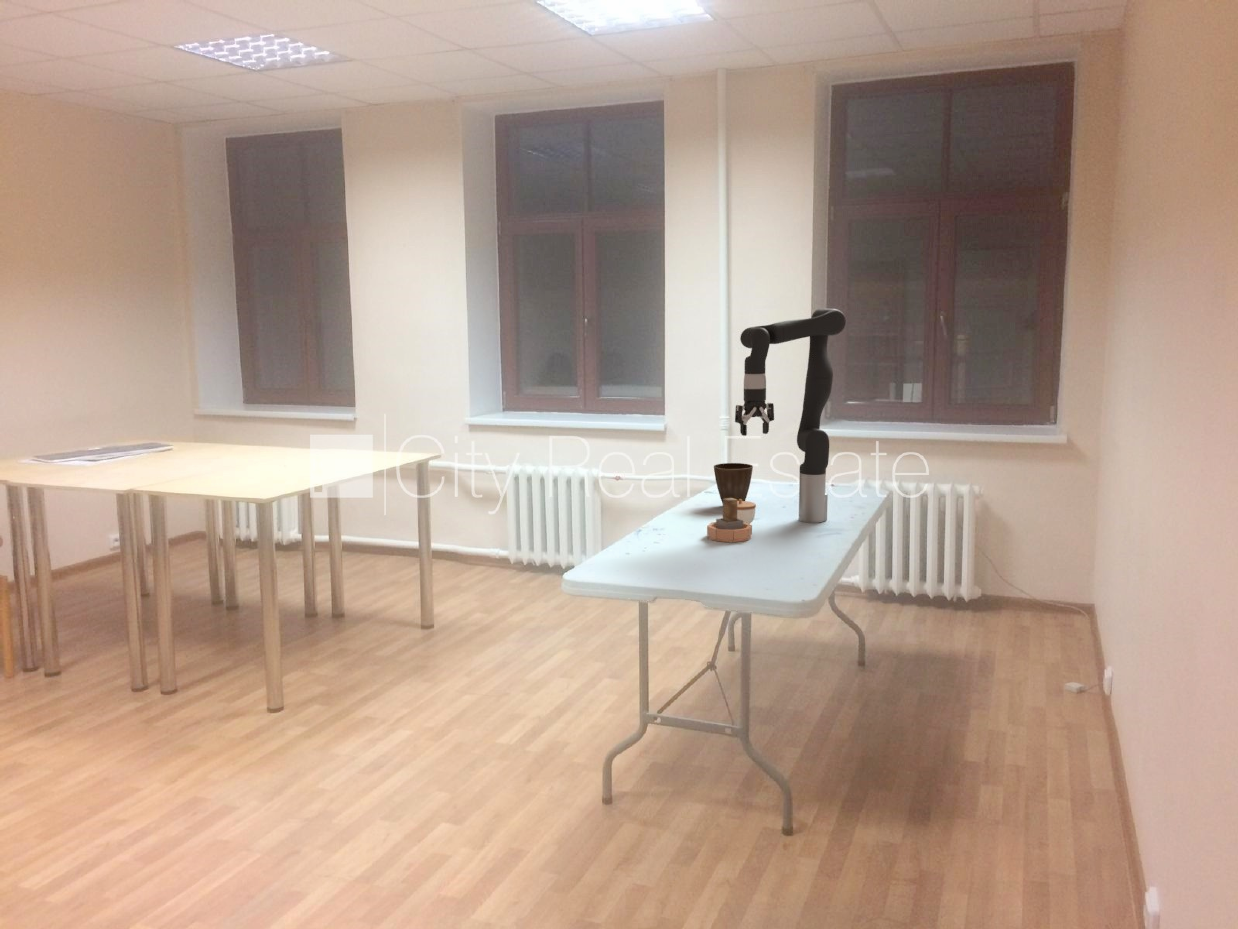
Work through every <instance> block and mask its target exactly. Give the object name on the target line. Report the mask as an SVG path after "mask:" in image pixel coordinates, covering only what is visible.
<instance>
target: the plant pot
mask: <svg viewBox="0 0 1238 929" xmlns="http://www.w3.org/2000/svg"><path fill="white" fill-rule="evenodd" d="M753 468H754V466H753V465H752V464H749V463H740V462H739V463H738V462H727V463H726V462H725V463H717V464H714V465H713V471H714V472H713V473H714V477H715V482H716V487H717V490H718V494H719V498H720V500H721V502H722V505H723V499H725V498H734V499H737V501H739V499H742V501H746V500H747V496H748V494H749V489H750V487H751V486H750V485H751V481H752V475H753Z"/></svg>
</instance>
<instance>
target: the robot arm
mask: <svg viewBox="0 0 1238 929" xmlns="http://www.w3.org/2000/svg"><path fill="white" fill-rule="evenodd" d="M845 316H846V315H845V314H844V313H843V312H842V311H841V310H839V309H837V308H818V309H816V310H815V311H814V312H813V313H812V315H811V317H809V318H802V319H791V320H783V321H779V322H774V323H772V324H767V325H757V326H751V327H748V328H745V329H744V330H743V331H742V332H741V334H740V337H739V340H740V344H742V346H743V347H744V348H748V349H751V350H750V355H749V356H747V357H745V359H744V374H743V376H744V377H743V402H744V404H743V405H740V404H736V405H735V410H734V412H735V413H734V414H735V415H734V422H735V423H736V424H739V427H740V428H739V429H740V430H739V432H740V434H741V436H742V437H745V436H747V435H748V431H747V428H748V426H747V423H748V421H750V419H751V418H755V417H758V418H760V419H761V421H762V434H764V435H767V434H769V432H770V422H772V421H774V420H775V410H774V409H775V408H774V406H775V405H774V403H772V402H767V403H766V400H767V377H766V361H767V356H768V354H769V353H768V352H769V349H770V345H777V344H783V343H786V342H792V341H796V340H800V339H804V338H809V351H808V358H807V359H808V360H807V361H808V362H807V370H806V377H805V382H804V383H805V384H804V394H803V395H804V396H803V403H802V411H801V417H800V421H799V426H798V430H797V435H796V444H797V447H798V448H799V450H800V451H802V452H804V460H803V462H802V463H801V464H800V465H799V485H798V486H799V487H798V491H799V492H798V521H800V522H803V523H822V522H825V521H827V520H828V499H829V498H828V494H827V493H826V488H827V487H826V482H827V481H826V480H827V479H826V478H827V477H826V475H827V474H826V473H827V468H828V465H829V461H830V460H829V457H830V438H829V435H828V433H827V432H826V431H824V430H822V429H821V428H820V427H821V418H822V414H823V413H822V412H823V411H824V409H825V406H826V404H827V402H828V401H829V398H830V395H831V392H832V386H833V380H834V370H833V366H832V362H831V361H830V358H829V354H828V343H829V342H828V340H829V336H837V335H839V334H840V333H841V332H843V330H844V329H845V327H846V324H847V322H846V321H847V319H846V317H845ZM765 410H766V412H765Z"/></svg>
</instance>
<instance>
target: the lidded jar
mask: <svg viewBox="0 0 1238 929" xmlns="http://www.w3.org/2000/svg"><path fill="white" fill-rule="evenodd" d="M756 508H757V505H756V502H752V501H746V500H745V501H742V499H739V501H737V519H740V520H743V522H745V523H747V524H750V525H751V524H752V522H753V521H754V520H755V516H756V515H755V514H756Z"/></svg>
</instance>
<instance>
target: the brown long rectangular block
mask: <svg viewBox="0 0 1238 929" xmlns="http://www.w3.org/2000/svg"><path fill="white" fill-rule="evenodd" d="M722 518H723V521H725V522H732V521H737V499H734V498H725V499H723V504H722Z"/></svg>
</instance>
